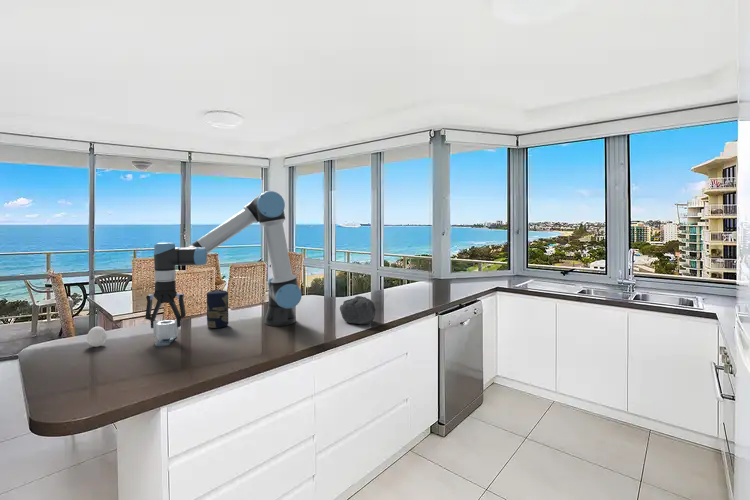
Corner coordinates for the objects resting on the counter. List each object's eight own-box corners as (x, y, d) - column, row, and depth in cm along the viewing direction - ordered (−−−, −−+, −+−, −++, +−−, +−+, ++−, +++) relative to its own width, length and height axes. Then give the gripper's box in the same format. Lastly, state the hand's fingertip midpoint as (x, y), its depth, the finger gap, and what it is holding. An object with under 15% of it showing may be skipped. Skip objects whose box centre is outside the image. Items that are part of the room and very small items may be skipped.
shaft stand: (176, 336, 162) (176, 320, 161) (168, 345, 150) (168, 328, 150) (163, 337, 161) (163, 321, 160) (154, 346, 149) (154, 328, 149)
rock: (332, 298, 192) (353, 289, 202) (336, 323, 195) (356, 313, 206) (361, 306, 177) (382, 295, 188) (365, 333, 180) (385, 321, 191)
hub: (177, 333, 160) (177, 319, 159) (173, 338, 153) (173, 324, 152) (159, 334, 158) (159, 320, 157) (154, 339, 151) (153, 324, 151)
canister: (220, 330, 173) (220, 291, 172) (202, 328, 175) (202, 290, 174) (232, 324, 183) (232, 288, 182) (215, 323, 185) (214, 287, 183)
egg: (89, 344, 149) (89, 325, 149) (109, 343, 152) (108, 323, 151) (84, 349, 143) (84, 329, 143) (104, 347, 146) (104, 327, 145)
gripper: (193, 278, 160) (194, 331, 161) (141, 279, 155) (142, 334, 156) (189, 281, 153) (190, 336, 154) (134, 282, 148) (135, 339, 149)
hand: (166, 335), depth 155 cm, fingers open, 7 cm apart
